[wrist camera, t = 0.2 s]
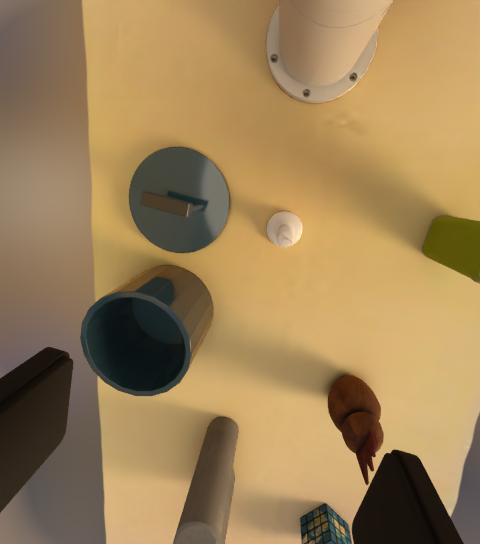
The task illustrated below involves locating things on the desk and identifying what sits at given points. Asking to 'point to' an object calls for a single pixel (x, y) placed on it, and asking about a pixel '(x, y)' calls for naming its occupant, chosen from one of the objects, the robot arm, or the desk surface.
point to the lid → (179, 199)
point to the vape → (455, 245)
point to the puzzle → (324, 527)
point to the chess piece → (284, 229)
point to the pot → (148, 330)
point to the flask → (210, 488)
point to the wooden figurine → (357, 419)
